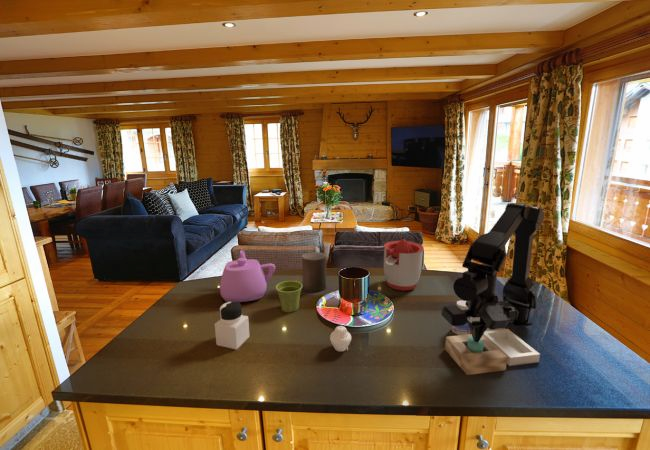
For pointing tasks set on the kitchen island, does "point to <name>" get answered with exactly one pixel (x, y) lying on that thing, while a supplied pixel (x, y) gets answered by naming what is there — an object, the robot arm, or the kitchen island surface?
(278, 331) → the kitchen island surface
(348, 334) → the white rounded piece
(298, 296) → the plant pot
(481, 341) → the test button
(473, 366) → the square wooden tray
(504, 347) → the shallow white tray
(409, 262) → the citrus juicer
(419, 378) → the kitchen island surface
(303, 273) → the pillar candle
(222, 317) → the medicine bottle
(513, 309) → the robot arm
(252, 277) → the teapot
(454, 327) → the pill bottle
